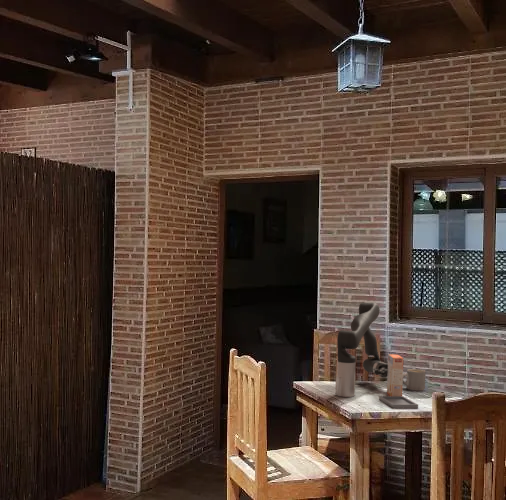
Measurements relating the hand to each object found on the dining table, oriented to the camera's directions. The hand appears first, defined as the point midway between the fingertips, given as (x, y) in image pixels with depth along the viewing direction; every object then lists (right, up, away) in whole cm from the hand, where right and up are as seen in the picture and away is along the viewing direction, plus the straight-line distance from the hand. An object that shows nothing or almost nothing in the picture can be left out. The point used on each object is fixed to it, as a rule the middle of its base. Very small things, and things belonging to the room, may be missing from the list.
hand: (391, 374), depth 351 cm
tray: (-2, -10, -24) cm, 26 cm away
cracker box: (0, -11, -5) cm, 12 cm away
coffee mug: (+15, -12, +18) cm, 27 cm away
